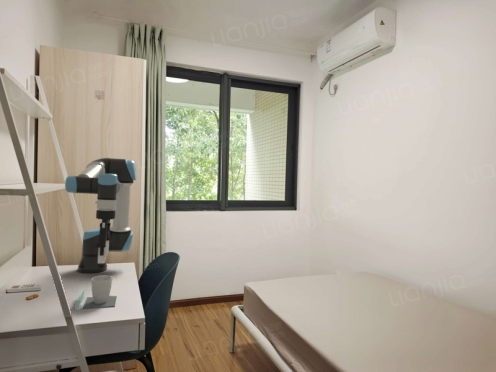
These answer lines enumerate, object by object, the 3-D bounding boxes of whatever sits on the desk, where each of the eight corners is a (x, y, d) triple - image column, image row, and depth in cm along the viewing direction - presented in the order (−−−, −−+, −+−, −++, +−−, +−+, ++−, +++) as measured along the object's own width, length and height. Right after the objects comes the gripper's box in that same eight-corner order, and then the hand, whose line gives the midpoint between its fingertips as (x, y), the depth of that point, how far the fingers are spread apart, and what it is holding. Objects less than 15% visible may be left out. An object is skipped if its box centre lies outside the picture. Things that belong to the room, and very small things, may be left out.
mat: (87, 298, 140) (87, 297, 140) (116, 296, 144) (116, 295, 144) (82, 308, 128) (82, 307, 128) (114, 306, 132) (114, 305, 132)
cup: (115, 300, 138) (116, 277, 138) (100, 306, 131) (102, 282, 131) (100, 296, 141) (101, 274, 141) (85, 302, 134) (87, 279, 134)
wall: (81, 297, 140) (81, 288, 140) (83, 297, 140) (84, 288, 140) (75, 310, 127) (75, 300, 127) (77, 310, 127) (78, 300, 127)
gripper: (100, 206, 147) (97, 252, 147) (92, 212, 123) (89, 267, 123) (117, 207, 149) (114, 252, 149) (113, 212, 125) (110, 266, 125)
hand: (103, 259), depth 136 cm, fingers open, 13 cm apart
